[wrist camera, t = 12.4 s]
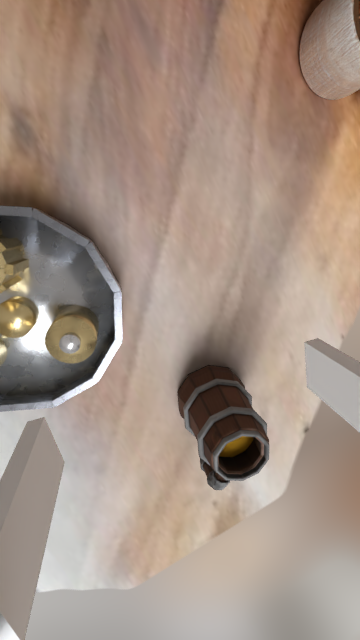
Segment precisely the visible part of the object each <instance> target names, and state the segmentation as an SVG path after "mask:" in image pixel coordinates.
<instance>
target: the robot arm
mask: <svg viewBox="0 0 360 640" xmlns="http://www.w3.org/2000/svg"><path fill="white" fill-rule="evenodd" d="M305 359H306V378H307V388H309V389H310V390H311V391H312V392H313V393H314V394H316V395H317V396H318V397H319V398H320V399H321V400H322V401H324V402H325V403H326V404H327V405H329V407H331V408H332V409H333V410H334V411H335V412H336V413H338V414H339V415H340V416H341V417H342V418H344V419H345V420H346V421H347V422H348V423H349V424H350V425H352V426H353V427H354V428H355V429H356V430H357V431H358V432H360V362H359V361H357V360H355V359H353V358H352V357H350V356H348V355H346V354H345V353H343V352H341V351H339V350H338V349H336V348H334V347H332V346H331V345H329V344H327V343H325V342H324V341H322V340H320V339H318V338H317V339H314V340H310V341H307V342H305ZM63 467H64V460H63V458H62V455H61V453H60V451H59V449H58V446H57V444H56V442H55V440H54V438H53V435H52V433H51V431H50V429H49V426H48V424H47V422H46V420H45V417H43V418H40V419H36V420H33V421H29V422H27V424H26V426H25V428H24V430H23V432H22V435H21V437H20V439H19V441H18V443H17V445H16V448H15V450H14V452H13V454H12V456H11V458H10V461H9V463H8V465H7V467H6V469H5V472H4V474H3V476H2V478H1V480H0V640H25V635H26V631H27V627H28V622H29V618H30V613H31V609H32V604H33V600H34V596H35V591H36V587H37V582H38V578H39V573H40V569H41V564H42V560H43V556H44V551H45V547H46V542H47V538H48V533H49V529H50V524H51V520H52V516H53V511H54V507H55V502H56V498H57V493H58V489H59V484H60V480H61V476H62V471H63Z"/></svg>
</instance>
